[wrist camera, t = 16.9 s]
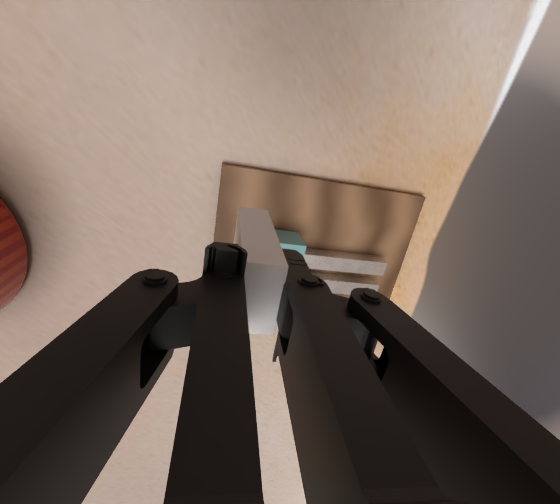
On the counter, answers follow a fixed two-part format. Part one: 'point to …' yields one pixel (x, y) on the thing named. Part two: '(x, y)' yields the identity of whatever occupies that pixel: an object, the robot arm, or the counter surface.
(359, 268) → the tong arm
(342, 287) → the bar
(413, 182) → the counter surface
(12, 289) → the planter
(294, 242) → the teal bridge block
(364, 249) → the board
